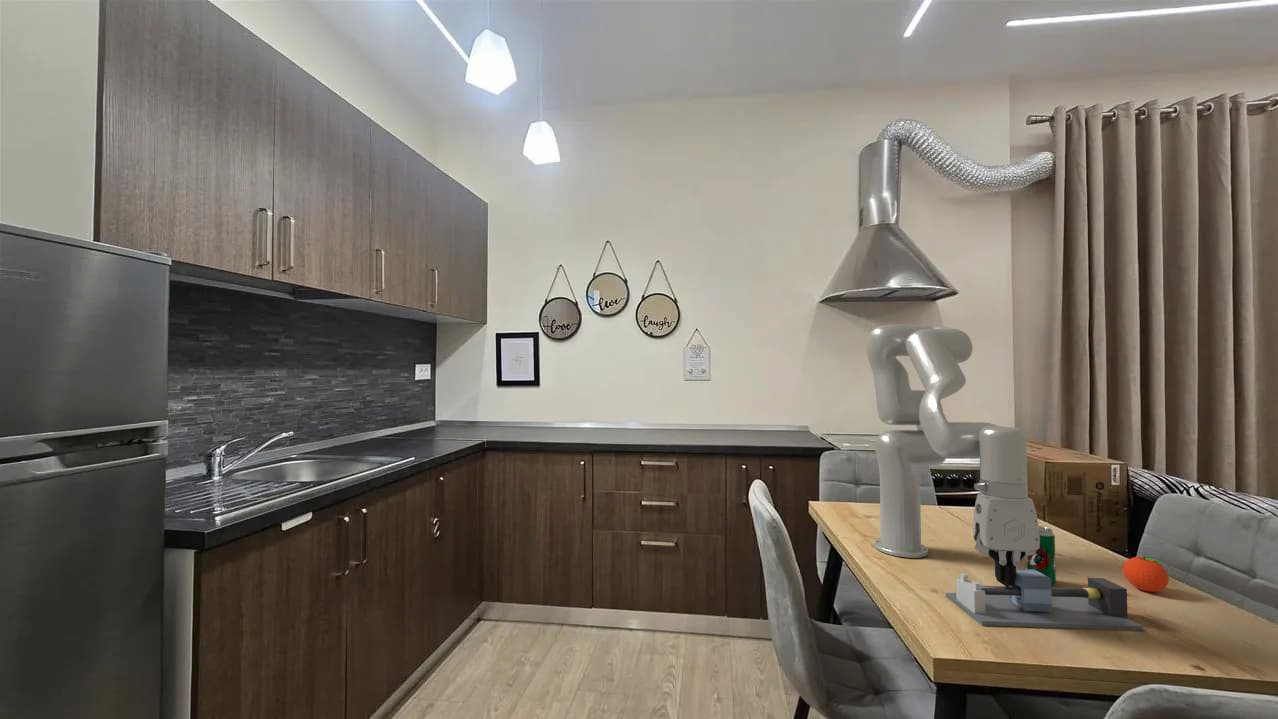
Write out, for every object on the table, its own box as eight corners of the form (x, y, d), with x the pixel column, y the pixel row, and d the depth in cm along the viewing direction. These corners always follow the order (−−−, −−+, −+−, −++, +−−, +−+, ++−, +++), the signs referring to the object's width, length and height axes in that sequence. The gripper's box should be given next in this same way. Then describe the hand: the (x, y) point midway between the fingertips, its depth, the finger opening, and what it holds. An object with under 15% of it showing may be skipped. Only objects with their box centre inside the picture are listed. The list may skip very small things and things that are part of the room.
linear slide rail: (981, 625, 91) (981, 591, 91) (945, 596, 103) (945, 566, 103) (1145, 630, 89) (1144, 596, 90) (1089, 600, 101) (1088, 570, 101)
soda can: (1061, 588, 107) (1060, 532, 108) (1035, 586, 108) (1033, 530, 109) (1047, 578, 112) (1046, 525, 113) (1022, 576, 113) (1020, 524, 114)
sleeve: (1024, 610, 94) (1023, 577, 95) (1008, 600, 99) (1008, 568, 99) (1051, 611, 94) (1051, 578, 94) (1035, 601, 98) (1034, 569, 99)
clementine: (1165, 587, 108) (1164, 555, 108) (1184, 601, 101) (1182, 566, 102) (1117, 581, 111) (1116, 549, 111) (1132, 593, 105) (1131, 559, 105)
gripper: (975, 493, 94) (977, 590, 94) (1058, 494, 93) (1060, 593, 92) (953, 484, 102) (955, 574, 101) (1029, 486, 101) (1032, 577, 100)
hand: (1005, 583), depth 97 cm, fingers closed
